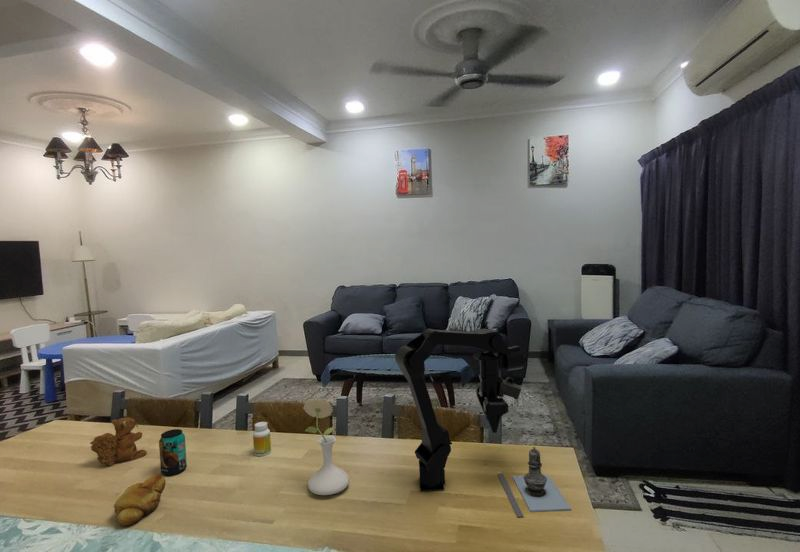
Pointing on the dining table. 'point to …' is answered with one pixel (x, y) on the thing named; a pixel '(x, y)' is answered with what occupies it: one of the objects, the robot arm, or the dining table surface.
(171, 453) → the beverage can
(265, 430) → the supplement bottle
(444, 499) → the dining table surface
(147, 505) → the bread roll
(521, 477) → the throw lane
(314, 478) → the flower in vase
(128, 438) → the stuffed squirrel
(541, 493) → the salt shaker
